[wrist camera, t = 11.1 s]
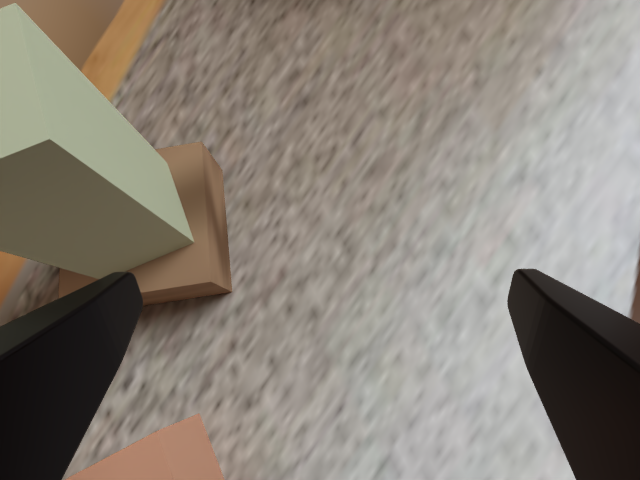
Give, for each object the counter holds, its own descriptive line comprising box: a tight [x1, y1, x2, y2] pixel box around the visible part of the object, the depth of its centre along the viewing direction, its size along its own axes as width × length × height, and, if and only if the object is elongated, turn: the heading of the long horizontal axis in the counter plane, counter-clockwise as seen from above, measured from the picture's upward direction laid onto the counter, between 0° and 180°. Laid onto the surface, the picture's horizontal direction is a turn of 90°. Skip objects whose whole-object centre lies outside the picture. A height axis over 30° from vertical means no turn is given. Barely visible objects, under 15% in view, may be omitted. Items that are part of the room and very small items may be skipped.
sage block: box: [0, 3, 194, 279], centre depth 16 cm, size 5×5×10 cm
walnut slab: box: [58, 142, 232, 306], centre depth 23 cm, size 8×8×4 cm
